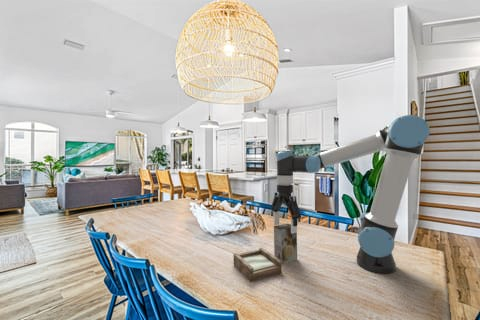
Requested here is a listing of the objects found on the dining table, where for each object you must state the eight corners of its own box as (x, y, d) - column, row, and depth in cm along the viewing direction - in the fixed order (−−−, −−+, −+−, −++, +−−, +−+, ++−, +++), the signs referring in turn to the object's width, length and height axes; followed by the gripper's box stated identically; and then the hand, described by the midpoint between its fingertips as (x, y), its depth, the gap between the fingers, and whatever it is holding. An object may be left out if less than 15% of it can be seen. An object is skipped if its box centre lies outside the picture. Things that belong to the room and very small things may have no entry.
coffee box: (288, 255, 116) (288, 222, 116) (297, 260, 110) (297, 226, 110) (273, 259, 112) (273, 225, 111) (282, 264, 106) (281, 229, 106)
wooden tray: (281, 273, 98) (281, 261, 98) (250, 281, 91) (250, 268, 91) (262, 258, 112) (261, 247, 112) (233, 265, 106) (233, 253, 106)
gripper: (309, 186, 101) (309, 235, 101) (276, 181, 123) (276, 220, 124) (295, 187, 97) (295, 238, 98) (264, 181, 120) (264, 222, 120)
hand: (284, 228), depth 111 cm, fingers open, 13 cm apart
